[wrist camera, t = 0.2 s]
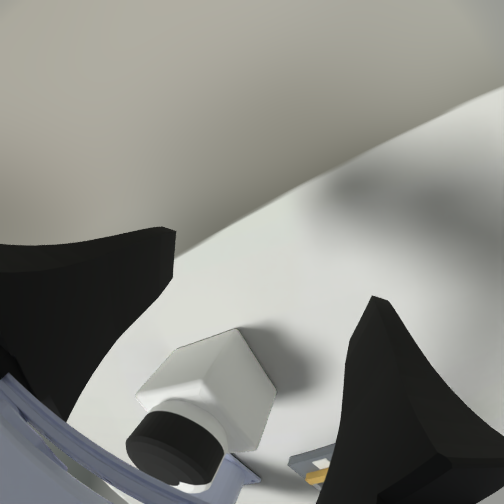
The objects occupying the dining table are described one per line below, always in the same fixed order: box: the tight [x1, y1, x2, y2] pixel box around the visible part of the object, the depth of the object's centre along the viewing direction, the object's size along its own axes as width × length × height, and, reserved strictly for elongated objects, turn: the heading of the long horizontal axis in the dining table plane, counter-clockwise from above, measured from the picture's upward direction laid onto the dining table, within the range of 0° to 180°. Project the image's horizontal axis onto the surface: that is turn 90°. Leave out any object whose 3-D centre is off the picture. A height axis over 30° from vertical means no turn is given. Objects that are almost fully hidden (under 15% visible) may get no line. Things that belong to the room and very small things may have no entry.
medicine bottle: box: [126, 329, 277, 493], centre depth 20 cm, size 7×7×12 cm
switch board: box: [288, 444, 335, 491], centre depth 23 cm, size 15×20×2 cm
